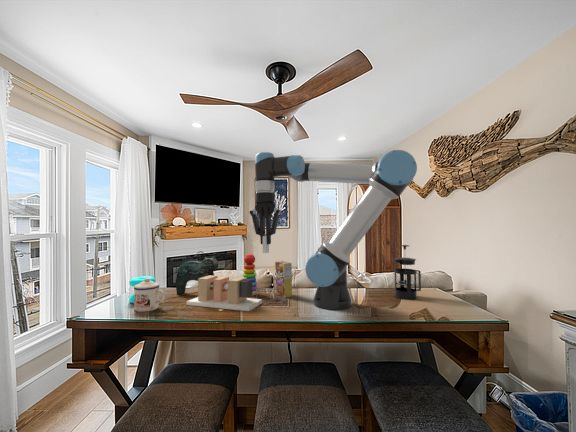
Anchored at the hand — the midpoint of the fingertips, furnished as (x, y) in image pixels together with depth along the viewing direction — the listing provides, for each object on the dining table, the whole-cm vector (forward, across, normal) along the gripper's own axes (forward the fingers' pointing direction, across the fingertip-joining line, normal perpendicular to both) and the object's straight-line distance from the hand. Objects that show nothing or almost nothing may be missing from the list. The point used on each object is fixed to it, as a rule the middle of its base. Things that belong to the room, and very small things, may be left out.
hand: (265, 252), depth 115 cm
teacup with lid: (+21, +43, +15) cm, 50 cm away
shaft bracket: (+21, +19, 0) cm, 28 cm away
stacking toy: (+21, +17, -18) cm, 33 cm away
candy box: (+22, +1, -21) cm, 30 cm away
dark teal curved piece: (+21, +41, -11) cm, 47 cm away
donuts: (+21, +55, +7) cm, 59 cm away
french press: (+22, -52, -35) cm, 67 cm away
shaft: (+17, +18, 0) cm, 25 cm away
